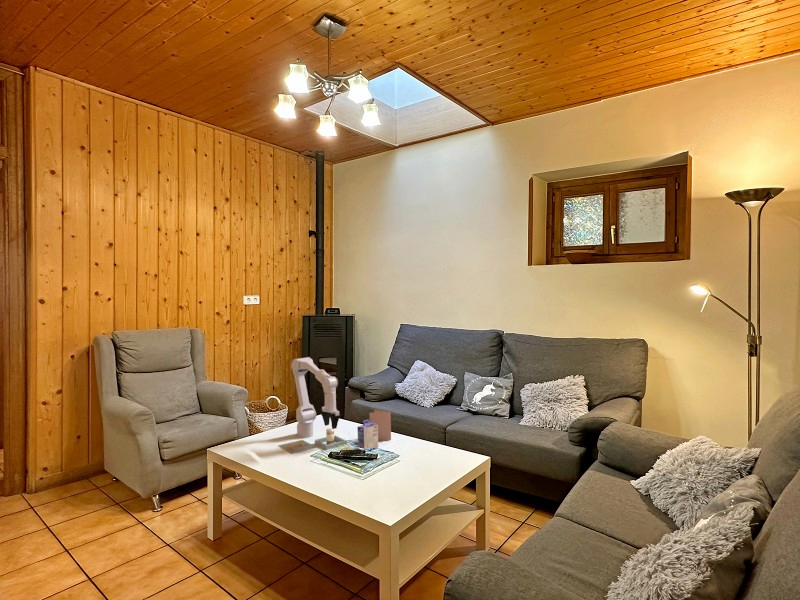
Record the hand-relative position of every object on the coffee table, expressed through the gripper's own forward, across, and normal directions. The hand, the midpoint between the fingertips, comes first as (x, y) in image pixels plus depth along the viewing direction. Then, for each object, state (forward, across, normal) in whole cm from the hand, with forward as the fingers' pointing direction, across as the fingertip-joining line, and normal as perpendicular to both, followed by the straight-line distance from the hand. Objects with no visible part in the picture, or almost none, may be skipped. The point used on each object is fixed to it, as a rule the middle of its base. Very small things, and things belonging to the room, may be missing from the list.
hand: (330, 426), depth 235 cm
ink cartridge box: (+11, +15, +13) cm, 23 cm away
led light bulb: (+9, 0, 0) cm, 9 cm away
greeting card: (+11, +7, +26) cm, 29 cm away
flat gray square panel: (+10, -8, -15) cm, 20 cm away
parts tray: (+10, 0, 0) cm, 10 cm away
